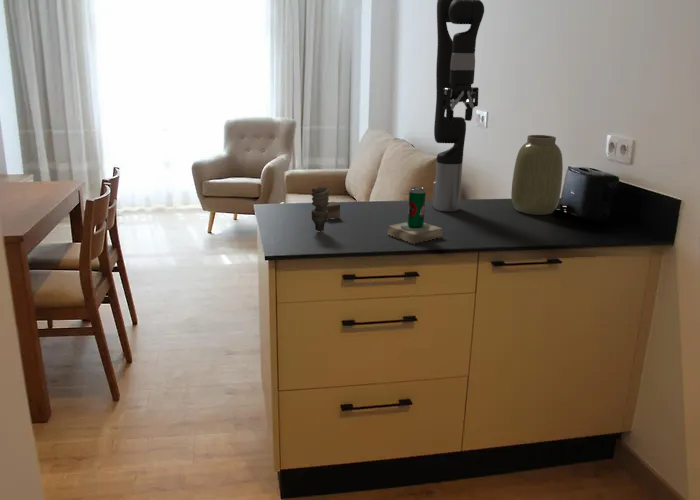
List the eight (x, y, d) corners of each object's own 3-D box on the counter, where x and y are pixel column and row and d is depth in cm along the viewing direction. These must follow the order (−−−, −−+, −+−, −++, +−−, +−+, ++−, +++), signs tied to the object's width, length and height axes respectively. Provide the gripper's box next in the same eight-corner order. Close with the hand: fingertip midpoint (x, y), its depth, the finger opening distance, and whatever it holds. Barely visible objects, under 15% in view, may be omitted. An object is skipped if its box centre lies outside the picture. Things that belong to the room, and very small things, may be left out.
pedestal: (387, 234, 197) (387, 225, 196) (415, 228, 204) (415, 219, 203) (413, 244, 188) (414, 234, 187) (441, 237, 195) (442, 227, 194)
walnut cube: (327, 206, 211) (327, 220, 213) (340, 204, 214) (339, 218, 215) (320, 203, 215) (320, 217, 217) (332, 201, 218) (332, 215, 219)
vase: (520, 202, 241) (527, 132, 233) (564, 209, 232) (573, 136, 223) (502, 211, 228) (509, 136, 220) (548, 219, 218) (557, 141, 210)
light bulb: (331, 231, 200) (332, 185, 195) (325, 236, 195) (325, 188, 190) (315, 229, 202) (315, 183, 197) (308, 234, 197) (308, 187, 192)
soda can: (422, 229, 192) (425, 190, 189) (406, 227, 193) (408, 189, 190) (424, 224, 197) (426, 187, 193) (408, 223, 198) (410, 186, 194)
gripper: (468, 67, 202) (465, 119, 207) (437, 68, 193) (434, 121, 198) (487, 68, 196) (482, 121, 201) (455, 69, 188) (451, 123, 193)
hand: (458, 121), depth 200 cm, fingers open, 8 cm apart
